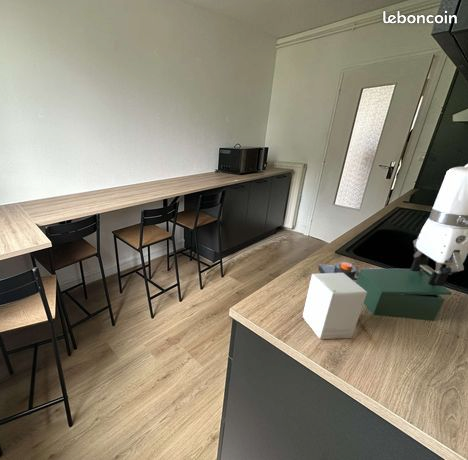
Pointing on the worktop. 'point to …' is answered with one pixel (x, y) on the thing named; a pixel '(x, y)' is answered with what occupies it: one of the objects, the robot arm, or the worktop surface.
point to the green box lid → (404, 281)
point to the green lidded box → (400, 303)
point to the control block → (338, 270)
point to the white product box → (333, 305)
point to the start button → (346, 266)
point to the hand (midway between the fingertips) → (426, 277)
